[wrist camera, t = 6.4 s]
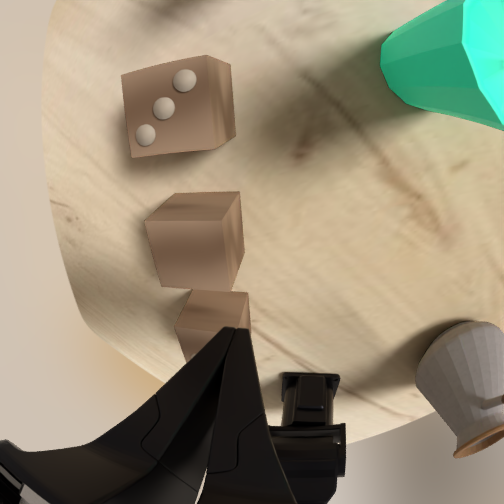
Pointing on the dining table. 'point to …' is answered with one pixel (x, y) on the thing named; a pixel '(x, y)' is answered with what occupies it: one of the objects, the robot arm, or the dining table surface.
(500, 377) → the coffee pot
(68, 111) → the dining table surface
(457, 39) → the candle
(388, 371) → the dining table surface
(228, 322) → the two dot block
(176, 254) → the plain block
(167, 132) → the three dot block
